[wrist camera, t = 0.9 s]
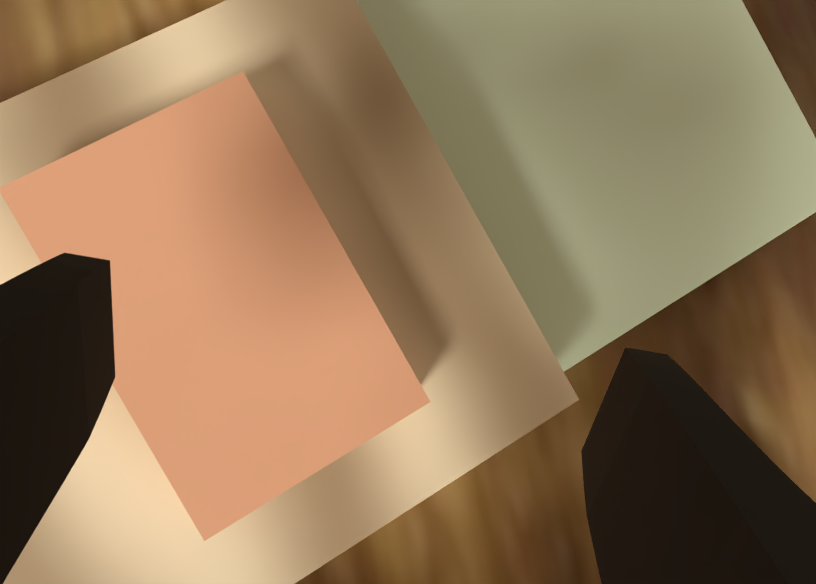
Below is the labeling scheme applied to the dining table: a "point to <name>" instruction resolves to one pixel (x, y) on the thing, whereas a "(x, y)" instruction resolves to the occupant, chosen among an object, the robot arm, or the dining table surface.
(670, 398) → the robot arm
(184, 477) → the tile
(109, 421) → the deck
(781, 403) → the dining table surface
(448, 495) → the dining table surface
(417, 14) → the mat
